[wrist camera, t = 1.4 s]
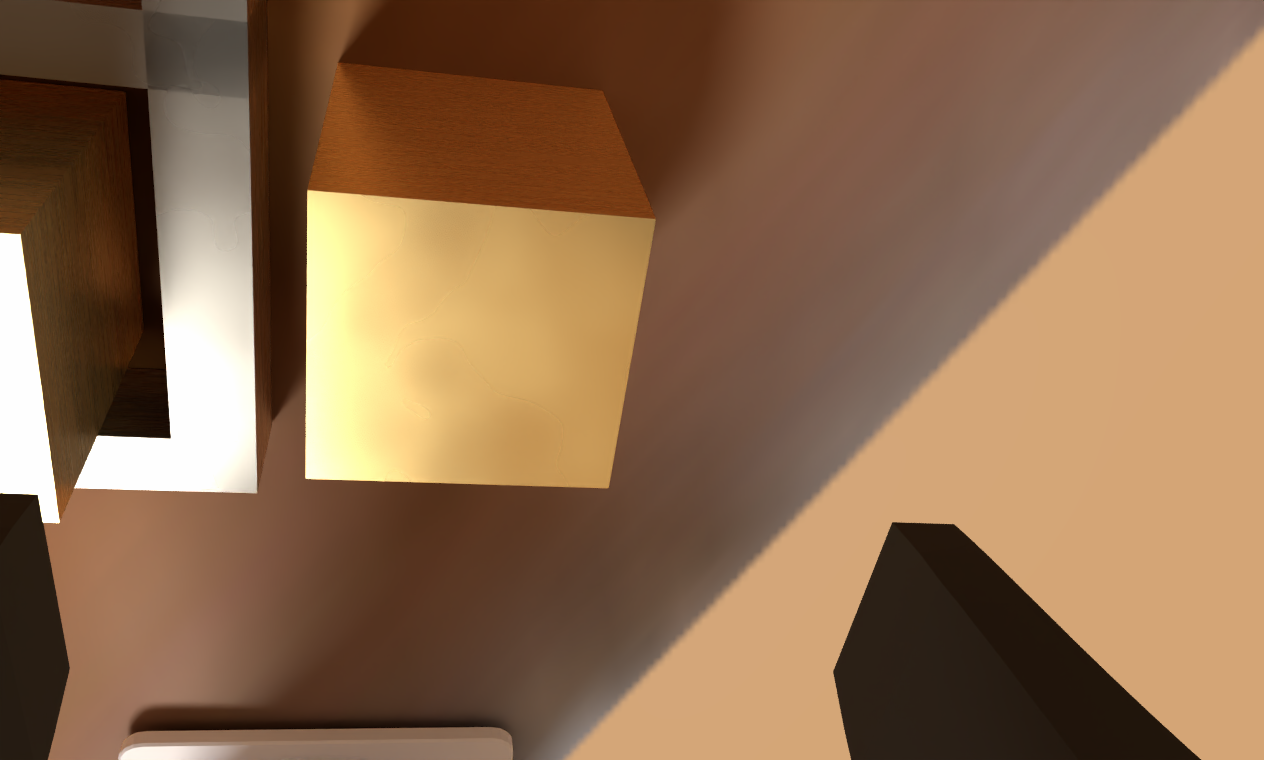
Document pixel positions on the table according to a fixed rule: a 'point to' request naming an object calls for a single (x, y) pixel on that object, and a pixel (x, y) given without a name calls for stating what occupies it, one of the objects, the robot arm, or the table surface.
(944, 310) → the table surface
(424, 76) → the honey wood cube
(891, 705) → the robot arm
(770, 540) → the table surface
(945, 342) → the table surface
